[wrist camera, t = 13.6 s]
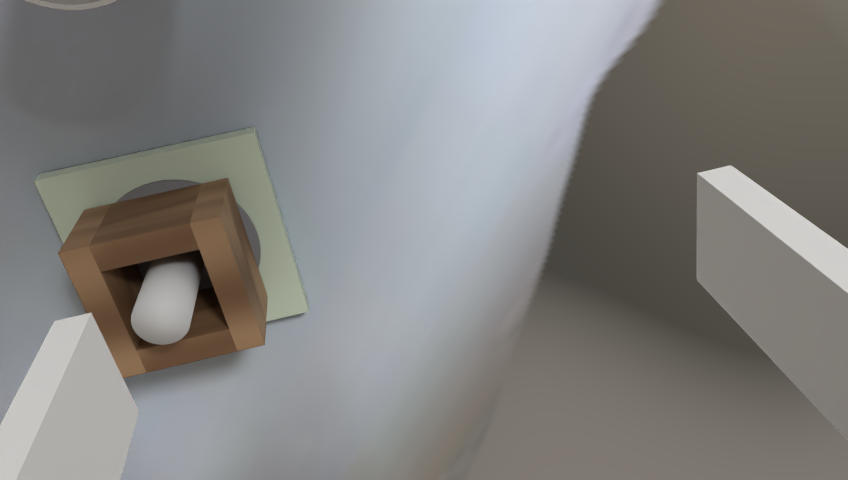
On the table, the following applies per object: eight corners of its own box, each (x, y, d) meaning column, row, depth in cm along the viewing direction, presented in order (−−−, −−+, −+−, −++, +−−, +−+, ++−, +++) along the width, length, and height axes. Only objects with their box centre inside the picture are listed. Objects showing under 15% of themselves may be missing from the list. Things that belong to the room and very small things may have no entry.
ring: (83, 209, 40) (57, 253, 36) (227, 177, 41) (219, 216, 36) (136, 327, 44) (118, 379, 40) (267, 296, 45) (264, 344, 40)
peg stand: (39, 174, 40) (-18, 244, 33) (254, 126, 41) (245, 185, 34) (120, 346, 46) (87, 439, 39) (308, 303, 47) (310, 385, 39)
